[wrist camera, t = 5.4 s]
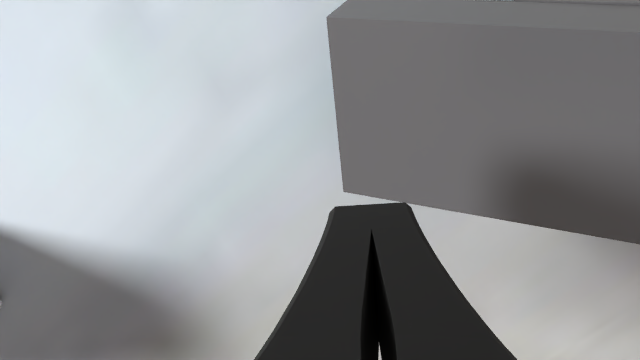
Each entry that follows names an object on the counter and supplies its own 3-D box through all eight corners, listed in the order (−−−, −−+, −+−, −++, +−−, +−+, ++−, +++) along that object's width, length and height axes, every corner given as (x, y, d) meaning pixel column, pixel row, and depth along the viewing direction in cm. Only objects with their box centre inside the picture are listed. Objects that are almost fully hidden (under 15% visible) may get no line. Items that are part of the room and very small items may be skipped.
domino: (352, -5, 15) (848, 12, 11) (364, 162, 18) (764, 223, 14) (326, 17, 14) (870, 43, 10) (343, 191, 17) (774, 268, 13)
